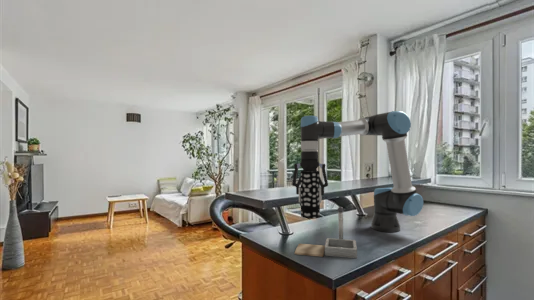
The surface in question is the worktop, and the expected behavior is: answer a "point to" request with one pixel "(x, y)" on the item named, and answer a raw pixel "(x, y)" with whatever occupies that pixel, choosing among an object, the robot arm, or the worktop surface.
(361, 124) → the robot arm
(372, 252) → the worktop surface
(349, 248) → the holder
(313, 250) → the coaster
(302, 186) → the white-spotted black cylinder
